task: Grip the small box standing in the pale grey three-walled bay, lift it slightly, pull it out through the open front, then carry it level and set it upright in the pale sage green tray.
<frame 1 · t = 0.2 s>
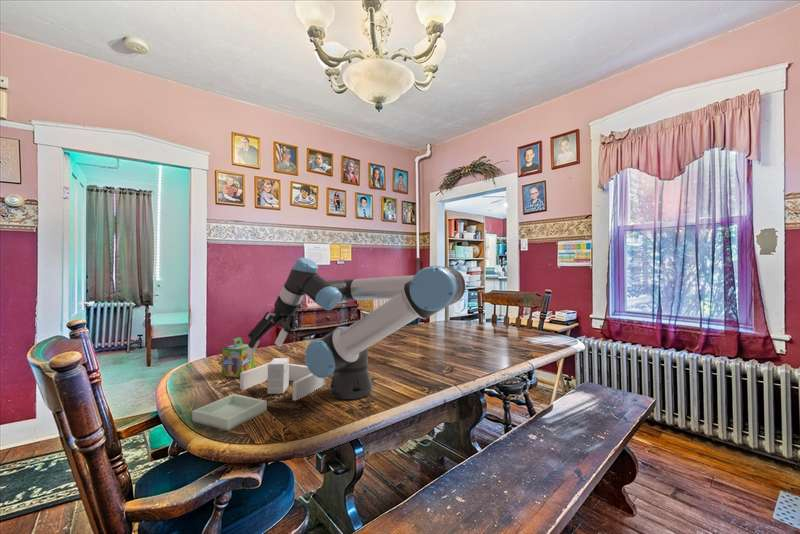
hand: (263, 349, 118), 15 cm above the table, tool tilted 30°, fingers open, 13 cm apart
tray: (230, 415, 99), on the table
bay: (278, 389, 120), on the table
chalk box: (238, 374, 137), on the table
small box: (278, 390, 120), on the table
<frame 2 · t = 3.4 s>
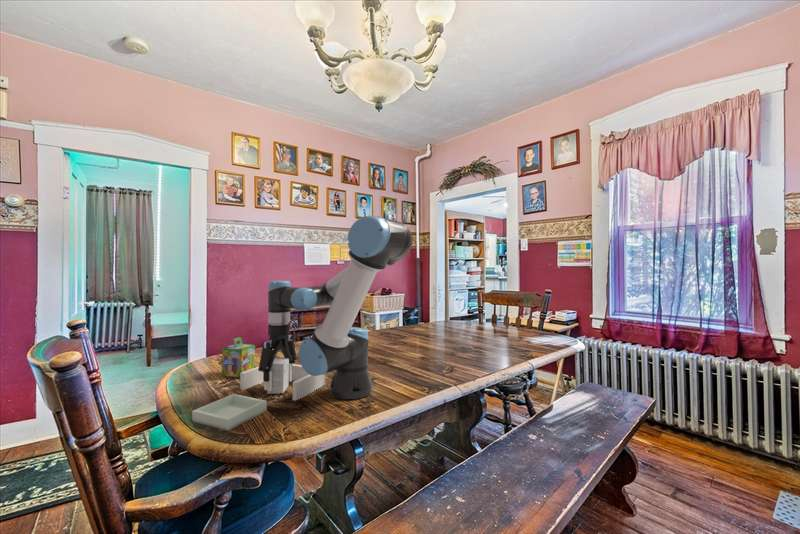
hand: (278, 385, 120), 2 cm above the table, tool pointing down, fingers closed on small box, 9 cm apart
small box: (278, 390, 120), on the table, touching gripper
everything else where it was.
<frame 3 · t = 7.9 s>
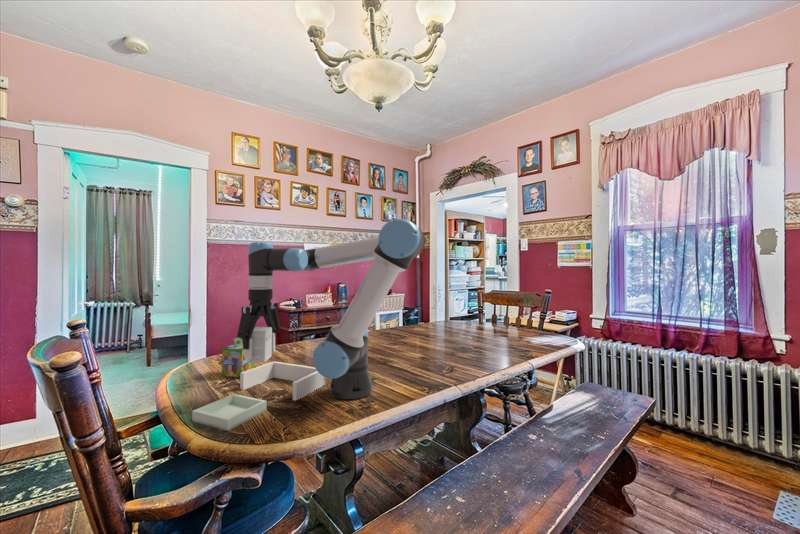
hand: (260, 354, 112), 15 cm above the table, tool pointing down, fingers closed on small box, 9 cm apart
small box: (260, 360, 112), point 13 cm above the table, touching gripper
everything else where it was.
when the fingers open (4 cm above the table, at t = 12.4 s): small box drops 1 cm, resting on tray.
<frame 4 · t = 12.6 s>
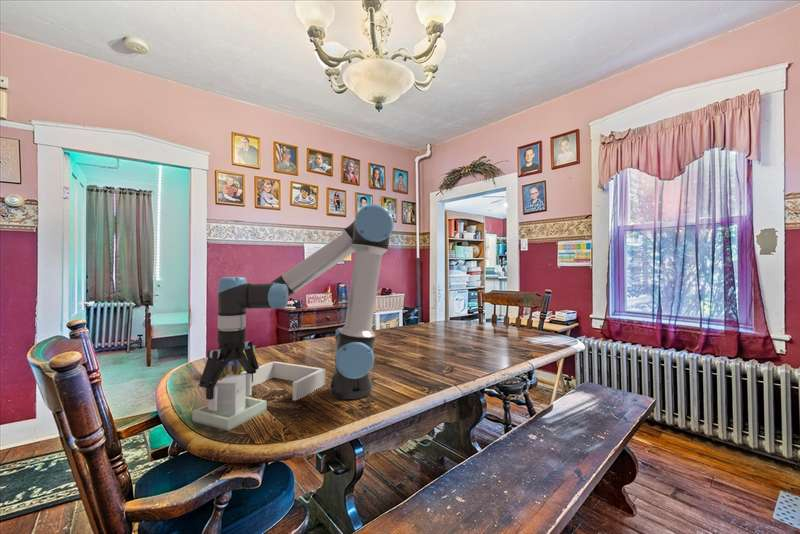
hand: (231, 401, 99), 4 cm above the table, tool pointing down, fingers open, 11 cm apart
small box: (230, 414, 99), resting on tray
everything else where it was.
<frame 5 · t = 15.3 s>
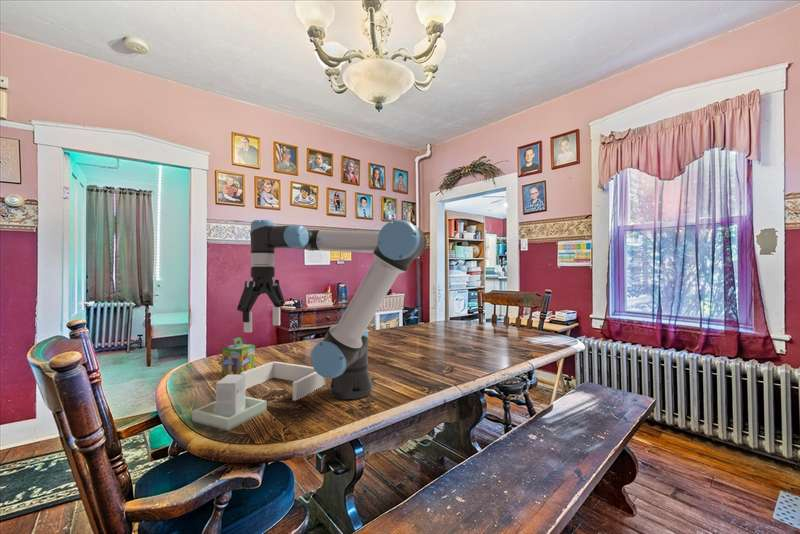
hand: (263, 328, 113), 23 cm above the table, tool pointing down, fingers open, 13 cm apart
nothing on the table moved.
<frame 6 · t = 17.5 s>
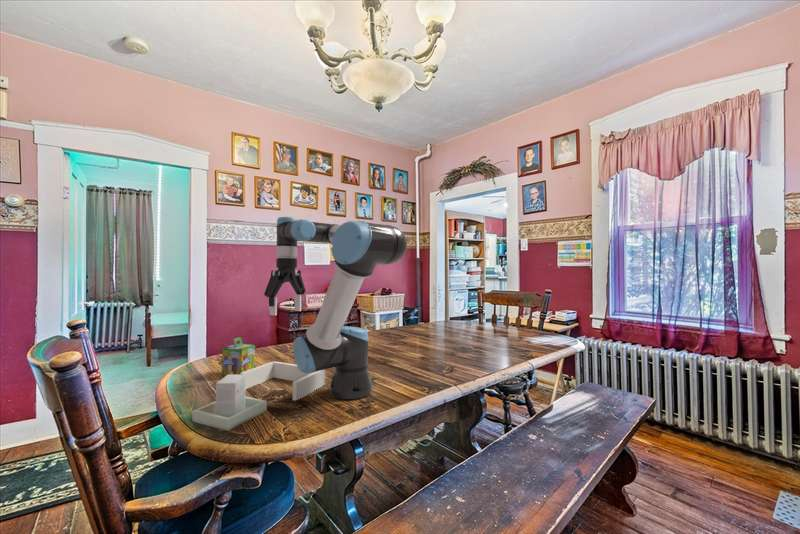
hand: (286, 313, 128), 27 cm above the table, tool pointing down, fingers open, 13 cm apart
nothing on the table moved.
at the end: small box 0.0 cm off-centre on the tray, point 0.4 cm above the tray's base; small box tilted 0°; the gripper is holding nothing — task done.
